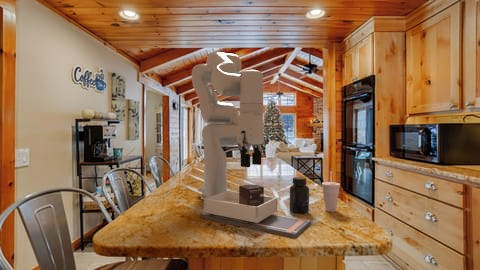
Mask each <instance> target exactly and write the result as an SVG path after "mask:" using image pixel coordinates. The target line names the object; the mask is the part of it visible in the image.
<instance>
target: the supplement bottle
mask: <svg viewBox="0 0 480 270" xmlns="http://www.w3.org/2000/svg"><path fill="white" fill-rule="evenodd" d="M309 211H310V188H309V186H307V178H306V177H300V176H296V177H292V184H291V185H290V186H289V212H291V213H292V214H297V215H306V214H308V213H309Z"/></svg>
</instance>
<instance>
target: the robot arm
mask: <svg viewBox="0 0 480 270" xmlns="http://www.w3.org/2000/svg"><path fill="white" fill-rule="evenodd" d="M241 69H242V60H241V58H240V56H238V55H237V54H234V53H226V52H220V51H219V52H218V51H216V52H212V53H210V54H209V55H208V56H207V58H206V63H199V64H196V65H195V66H193V68H192V70H191V82H192V86H193V89H194V92H195V93H196V95H197V98H198V102H199V108H200V113H201V118H202V120H203V122H204V123H205V124H206V125H204V126H203V128H202V130H201V139H202V144H203V145H202V146H203V161H204V162H203V168H204V169H203V170H204V171H203V175H204V177H203V186H199V187H198V188H197V191H198V192H201V193H202V194H201V195H200V199H201V200H202V201H204V198H207V197H210V196H213V195H216V194H219V193H222V192H226V191H228V190H227V189H228V185H227V184H228V183H227V182H228V178H227V177H228V176H227V174H228V171H227V169H228V168H227V167H228V163H227V162H228V161H227V154H226V152H225V151H224V149H223V147H234V146H235V147H236V146H237V147H238V151H239V154H240V167H242V168H250V167H251V164H252V165H255V166H257V165H258V166H261V165H262V152H263V148H264V144H265V139H264V132H265V131H264V118H263V115H264V73H263V72H262V71H260V70H256V69H249V70H244V71H241ZM239 73H240V74H239ZM210 84H211V85H212V86H211V85H210ZM218 94H219V95H221V96H224V97H238V98H239V113H238V109H237V107H236V106H235V105H234V104H232V103H229V102H220V101H219V98H218ZM251 148H252V154H250V150H251ZM251 157H252V158H251ZM251 159H252V160H251Z"/></svg>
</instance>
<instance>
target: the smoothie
mask: <svg viewBox="0 0 480 270" xmlns="http://www.w3.org/2000/svg"><path fill="white" fill-rule="evenodd" d="M329 173H330V174H329V175H330V177H329V178H330V179H329V181H325V182H322V183H321V186H322V191H323V193H322V194H323V200H324V209H325V211H327V212H336V211H337V208H338V201H339V199H338V198H339V193H340V188H341V183H338V182H334V181H333V171H329Z"/></svg>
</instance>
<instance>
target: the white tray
mask: <svg viewBox="0 0 480 270" xmlns="http://www.w3.org/2000/svg"><path fill="white" fill-rule="evenodd" d="M277 212H278V197H276V196H268V195H267V196H266V195H264V203H263V204H261V205H259V206H257V207H255V206H249V205H243V204H239V191H231V190H227V191H226V192H222V193H219V194H216V195H213V196H210V197H207V198H204V200H203V213H209V214H210V215H211V216H213V215H220V216H225V217H230V218H235V219H240V220H245V221H247V222H248V223H252V222H255V223H258V222H260V221H262V220H263V219H265V218H267V217H268V216H270V215H272V214H276V213H277Z"/></svg>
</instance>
